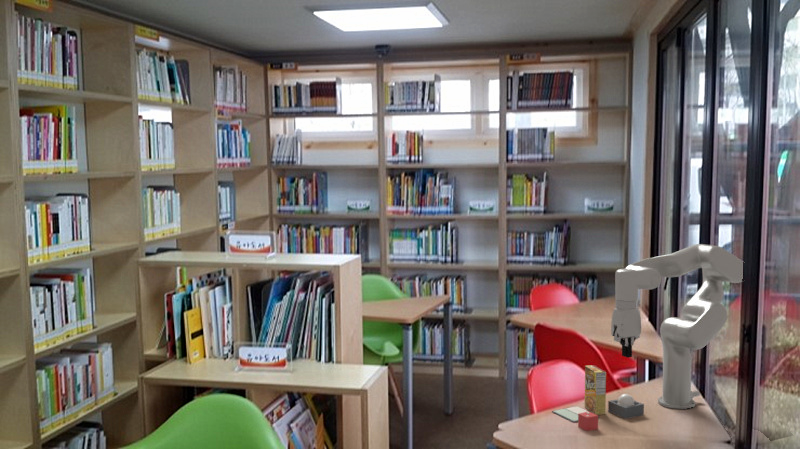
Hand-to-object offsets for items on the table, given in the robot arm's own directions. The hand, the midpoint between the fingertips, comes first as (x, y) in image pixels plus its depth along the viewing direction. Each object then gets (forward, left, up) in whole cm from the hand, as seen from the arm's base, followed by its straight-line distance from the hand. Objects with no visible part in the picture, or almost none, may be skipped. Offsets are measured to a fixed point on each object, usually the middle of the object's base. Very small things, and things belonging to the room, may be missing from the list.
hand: (626, 356), depth 246 cm
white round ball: (0, 0, -19) cm, 19 cm away
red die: (+21, +5, -20) cm, 30 cm away
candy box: (+8, -7, -21) cm, 23 cm away
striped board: (+17, -7, -20) cm, 27 cm away
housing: (0, 0, -20) cm, 20 cm away
